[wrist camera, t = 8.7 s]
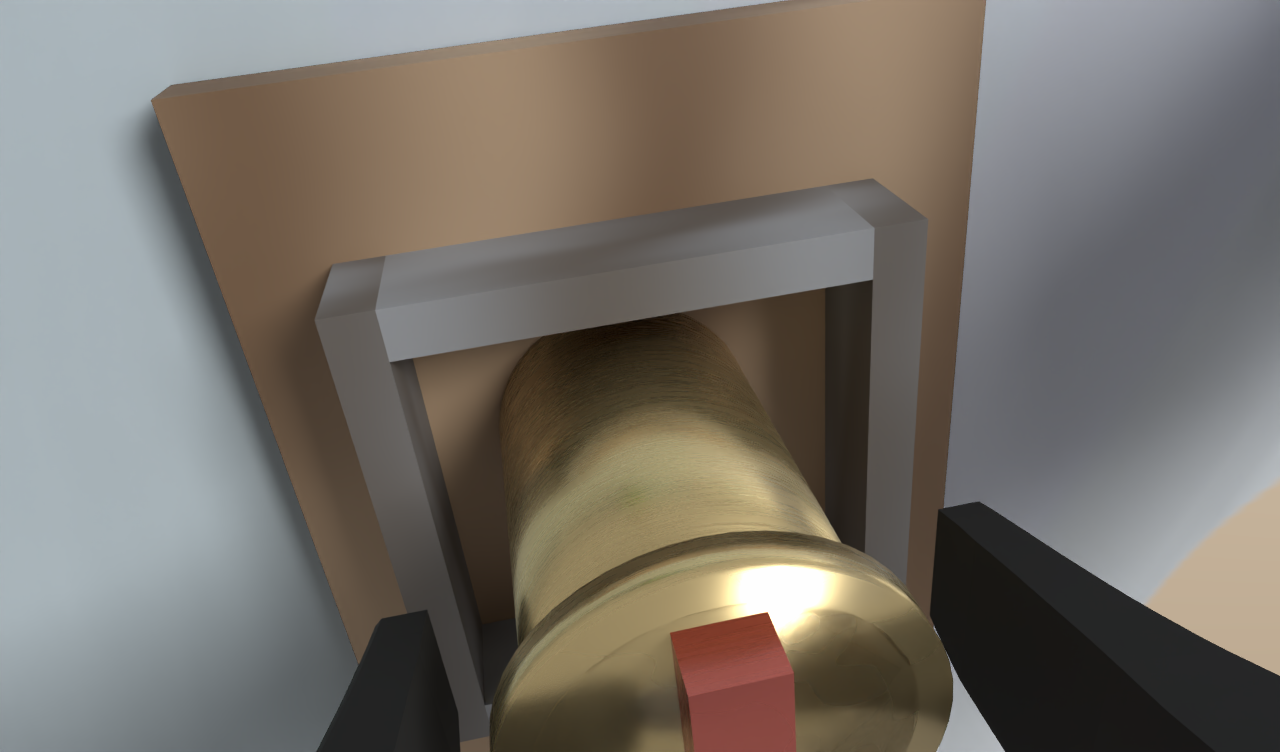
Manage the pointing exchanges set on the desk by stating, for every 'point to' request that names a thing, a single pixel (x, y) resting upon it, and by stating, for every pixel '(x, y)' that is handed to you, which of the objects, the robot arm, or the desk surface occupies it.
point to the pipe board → (589, 269)
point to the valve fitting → (689, 568)
